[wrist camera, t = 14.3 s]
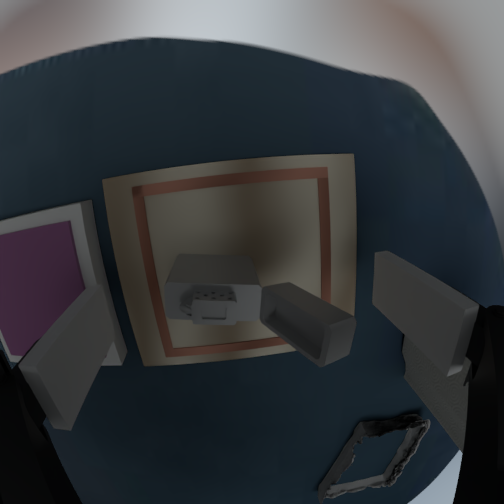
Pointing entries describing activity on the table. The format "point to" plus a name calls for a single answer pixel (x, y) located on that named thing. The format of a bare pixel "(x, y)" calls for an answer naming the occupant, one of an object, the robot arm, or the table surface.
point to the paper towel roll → (439, 390)
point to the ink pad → (49, 274)
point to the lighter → (256, 304)
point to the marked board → (232, 243)
